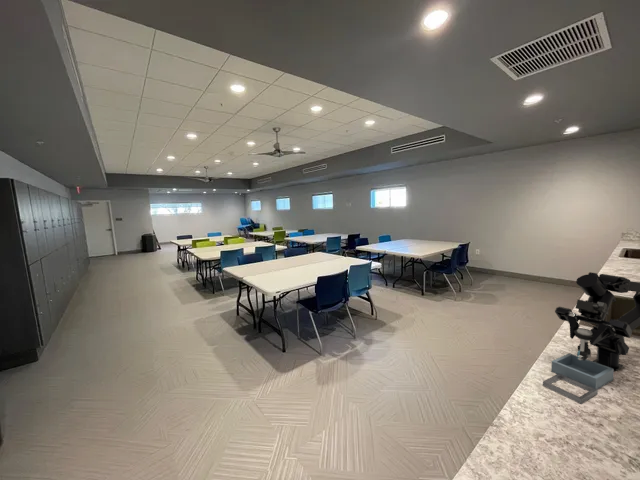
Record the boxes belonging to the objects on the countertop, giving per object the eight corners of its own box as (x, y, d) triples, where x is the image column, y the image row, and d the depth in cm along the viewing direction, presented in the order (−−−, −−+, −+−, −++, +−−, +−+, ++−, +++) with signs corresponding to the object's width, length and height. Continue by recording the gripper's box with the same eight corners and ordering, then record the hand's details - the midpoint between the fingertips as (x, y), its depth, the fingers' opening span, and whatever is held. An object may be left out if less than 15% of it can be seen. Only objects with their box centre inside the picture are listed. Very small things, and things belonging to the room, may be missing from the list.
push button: (589, 364, 90) (590, 336, 89) (568, 357, 95) (569, 330, 94) (596, 358, 93) (598, 331, 92) (576, 352, 98) (577, 325, 97)
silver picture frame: (559, 377, 94) (559, 373, 94) (597, 393, 85) (597, 389, 85) (542, 385, 90) (542, 381, 90) (581, 404, 81) (581, 399, 81)
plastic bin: (568, 363, 102) (569, 353, 102) (613, 380, 91) (613, 368, 91) (551, 371, 97) (551, 361, 97) (595, 390, 87) (596, 378, 86)
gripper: (558, 285, 102) (540, 319, 98) (630, 298, 85) (612, 340, 81) (568, 302, 106) (552, 335, 102) (639, 317, 89) (622, 358, 85)
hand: (581, 341), depth 93 cm, fingers closed on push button, 5 cm apart
